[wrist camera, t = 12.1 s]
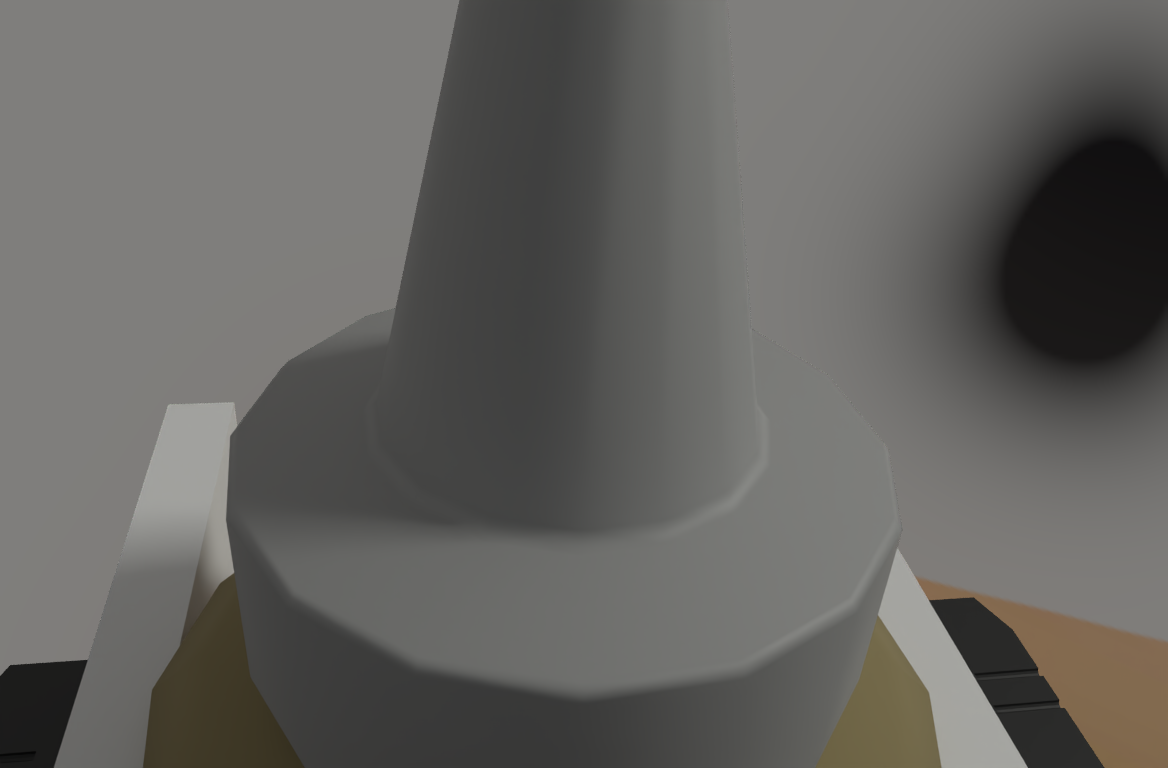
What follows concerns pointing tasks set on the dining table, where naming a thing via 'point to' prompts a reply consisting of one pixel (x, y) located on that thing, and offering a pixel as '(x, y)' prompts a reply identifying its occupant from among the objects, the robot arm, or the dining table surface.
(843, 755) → the squeeze bottle
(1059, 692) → the dining table surface
